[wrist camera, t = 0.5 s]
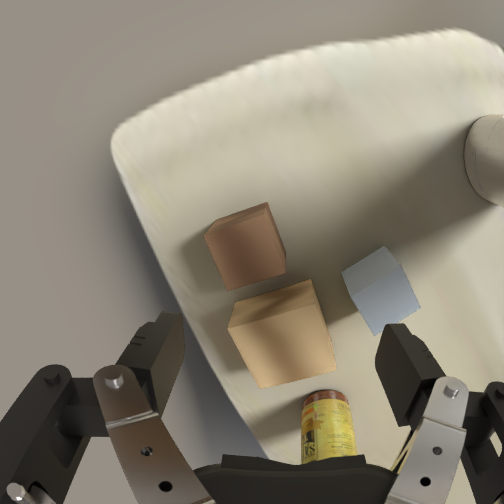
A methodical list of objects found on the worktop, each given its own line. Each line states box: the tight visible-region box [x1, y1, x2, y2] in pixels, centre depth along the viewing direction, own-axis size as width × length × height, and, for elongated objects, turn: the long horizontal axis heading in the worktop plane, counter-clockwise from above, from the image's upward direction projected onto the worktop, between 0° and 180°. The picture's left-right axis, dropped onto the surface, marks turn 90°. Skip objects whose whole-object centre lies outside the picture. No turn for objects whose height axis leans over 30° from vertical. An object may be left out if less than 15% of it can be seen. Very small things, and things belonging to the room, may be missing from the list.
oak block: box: [227, 279, 337, 389], centre depth 30 cm, size 8×8×5 cm
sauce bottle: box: [301, 390, 357, 464], centre depth 26 cm, size 7×6×20 cm
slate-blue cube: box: [341, 246, 421, 336], centre depth 27 cm, size 5×5×5 cm
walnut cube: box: [204, 202, 286, 291], centre depth 27 cm, size 5×5×5 cm
